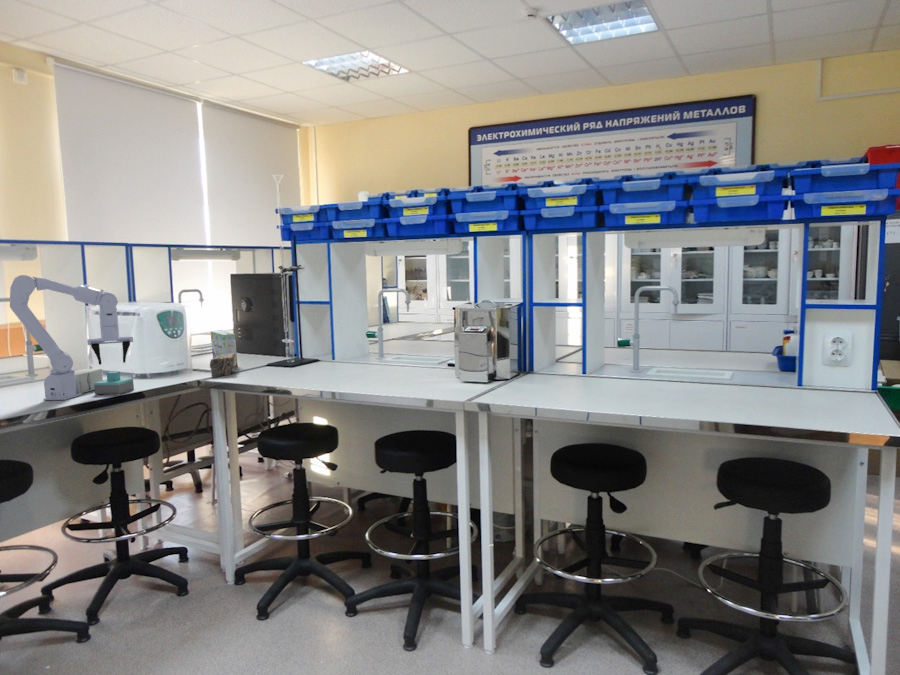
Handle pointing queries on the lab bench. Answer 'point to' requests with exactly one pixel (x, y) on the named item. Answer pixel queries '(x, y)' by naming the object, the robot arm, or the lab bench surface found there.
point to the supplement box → (87, 379)
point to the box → (114, 388)
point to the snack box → (223, 344)
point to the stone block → (222, 364)
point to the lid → (113, 379)
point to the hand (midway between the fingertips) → (112, 363)
